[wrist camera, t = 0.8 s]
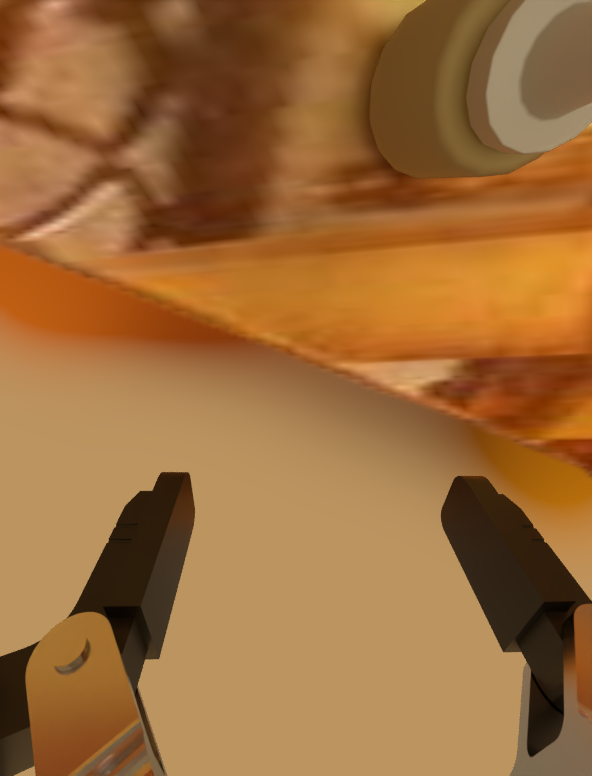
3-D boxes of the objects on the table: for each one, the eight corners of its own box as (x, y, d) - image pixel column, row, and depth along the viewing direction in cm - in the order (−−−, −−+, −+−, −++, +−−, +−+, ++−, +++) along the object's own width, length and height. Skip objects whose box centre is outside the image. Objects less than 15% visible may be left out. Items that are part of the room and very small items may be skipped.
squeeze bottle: (367, 188, 25) (476, 263, 11) (347, 41, 20) (495, -180, 6) (480, 151, 24) (772, 179, 9) (486, -16, 19) (1099, -469, 5)
